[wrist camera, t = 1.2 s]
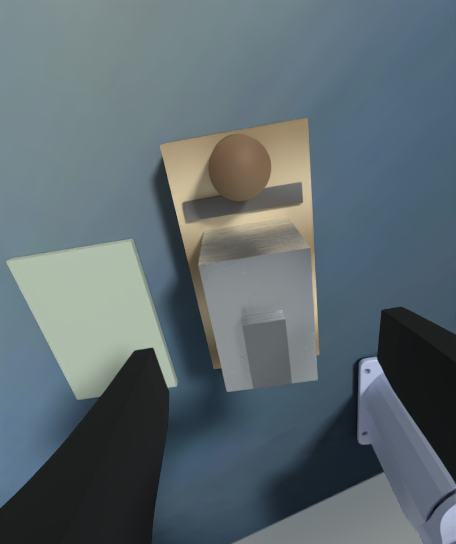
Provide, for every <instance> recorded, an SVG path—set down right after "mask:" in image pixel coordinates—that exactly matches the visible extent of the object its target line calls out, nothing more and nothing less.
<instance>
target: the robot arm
mask: <svg viewBox="0 0 456 544" xmlns="http://www.w3.org/2000/svg"><path fill="white" fill-rule="evenodd" d="M365 369H367V370H365ZM168 414H169V390H168V387H167V385H166V382H165V379H164V376H163V373H162V371H161V368H160V365H159V362H158V359H157V356H156V354H155V351H154V348H153V347H152V348H146V349H140V350H134V352H133V353H132V354H131V356H130V357H129V358H128V360H127V361H126V362H125V364H124V365H123V366H122V368H121V369H120V371H119V372H118V373H117V375H116V376H115V377H114V379H113V380H112V382H111V383H110V384H109V386H108V387H107V388H106V390H105V391H104V392H103V394H102V395H101V396H100V398H99V399H98V400H97V402H96V403H95V404H94V406H93V407H92V408H91V410H90V411H89V412H88V413H87V415H86V416H85V417H84V418H83V420H82V421H81V422H80V423H79V424H78V426H77V427H76V428H75V429H74V431H73V432H72V433H71V434H70V435H69V437H68V438H67V439H66V440H65V441H64V443H63V444H62V445H61V446H60V447H59V448H58V450H57V451H56V452H55V453H54V454H53V455H52V456H51V457H50V458H49V460H48V461H47V462H46V463H45V464H44V465H43V466H42V467H41V468H40V469H39V470H38V471H37V472H36V473H35V474H34V476H33V477H32V478H31V479H30V480H29V481H28V482H27V483H26V484H25V485H24V486H23V487H22V488H21V489H20V490H19V491H18V492H17V493H16V494H15V495H14V496H13V497H12V498H11V499H10V500H9V501H8V502H7V503H6V504H5V505H3V506H2V507H1V508H0V544H151V541H152V528H153V518H154V510H155V503H156V497H157V490H158V484H159V478H160V472H161V466H162V460H163V453H164V447H165V441H166V434H167V428H168ZM357 440H358V442H359V443H360V444H362V445H366V444H371V445H372V447H373V449H374V451H375V453H376V455H377V457H378V460H379V462H380V464H381V466H382V468H383V470H384V472H385V475H386V476H387V479H388V481H389V483H390V485H391V487H392V489H393V492H394V494H395V496H396V498H397V500H398V502H399V504H400V507H401V509H402V511H403V513H404V515H405V516H406V518H407V520H408V521H409V523H410V524H411V525H412V526H413V528H414V529H415V530H416V531H417V532H418V533H419V535H420V537H421V539H422V542H423V544H456V335H455V334H454V333H452V332H450V331H448V330H446V329H444V328H442V327H440V326H438V325H436V324H435V323H433V322H431V321H429V320H427V319H425V318H423V317H421V316H419V315H417V314H415V313H413V312H411V311H409V310H407V309H405V308H403V307H397V308H390V309H384V310H382V312H381V322H380V333H379V343H378V353H377V357H371V358H365V359H362V360H361V361H360V362H359V375H358V421H357Z"/></svg>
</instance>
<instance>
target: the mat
mask: <svg viewBox="0 0 456 544" xmlns="http://www.w3.org/2000/svg"><path fill="white" fill-rule="evenodd" d="M6 262H7V264H8V266H9V268H10V270H11V272H12V274H13V276H14V278H15V280H16V282H17V284H18V286H19V288H20V290H21V292H22V293H23V295H24V297H25V299H26V301H27V303H28V305H29V307H30V309H31V311H32V313H33V315H34V317H35V319H36V321H37V323H38V324H39V326H40V328H41V330H42V332H43V334H44V336H45V338H46V340H47V342H48V344H49V346H50V348H51V350H52V352H53V354H54V355H55V357H56V359H57V361H58V363H59V365H60V367H61V369H62V371H63V373H64V375H65V377H66V379H67V381H68V383H69V385H70V387H71V388H72V390H73V392H74V394H75V396H76V398H77V400H81V399H88V398H95V397H100V396H101V395H102V394H103V392H104V391H105V390H106V388H107V387H108V386H109V384H110V383H111V382H112V380H113V379H114V377H115V376H116V375H117V373H118V372H119V371H120V369H121V368H122V366H123V365H124V364H125V362H126V361H127V360H128V358H129V357H130V356H131V354H132V353H133V352H134V350H140V349H146V348H152V347H153V348H154V351H155V354H156V356H157V359H158V362H159V365H160V368H161V371H162V373H163V376H164V379H165V382H166V385H167V387H168V388H169V387H176V386H177V383H178V381H177V378H176V374H175V371H174V368H173V365H172V362H171V358H170V355H169V352H168V349H167V346H166V342H165V339H164V336H163V333H162V330H161V326H160V323H159V320H158V317H157V314H156V310H155V307H154V304H153V301H152V298H151V294H150V291H149V288H148V285H147V282H146V278H145V275H144V272H143V269H142V266H141V262H140V259H139V256H138V253H137V250H136V246H135V243H134V240H133V239H127V240H121V241H115V242H109V243H103V244H97V245H91V246H84V247H78V248H72V249H66V250H60V251H54V252H48V253H42V254H36V255H30V256H24V257H18V258H12V259H10V260H8V261H6Z"/></svg>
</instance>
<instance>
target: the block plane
mask: <svg viewBox="0 0 456 544" xmlns="http://www.w3.org/2000/svg"><path fill="white" fill-rule="evenodd" d="M160 148H161V152H162V156H163V160H164V164H165V169H166V173H167V177H168V181H169V185H170V189H171V194H172V198H173V202H174V206H175V210H176V214H177V218H178V223H179V227H180V231H181V235H182V239H183V243H184V248H185V252H186V256H187V260H188V264H189V268H190V273H191V277H192V281H193V285H194V289H195V293H196V297H197V302H198V306H199V310H200V314H201V318H202V322H203V327H204V331H205V335H206V339H207V343H208V347H209V352H210V356H211V360H212V364H213V368H214V369H219V368H221V364H220V359H219V355H218V350H217V346H216V341H215V337H214V333H213V328H212V324H211V319H210V315H209V310H208V306H207V302H206V297H205V293H204V288H203V284H202V279H201V275H200V271H199V266H198V264H199V258H200V253H201V247H202V241H203V236H204V231H207V230H213V229H219V228H225V227H231V226H237V225H243V224H249V223H255V222H261V221H268V220H274V219H280V218H286V217H289V218H290V220H291V221H292V223H293V224H294V225H295V227H296V228H297V229H298V231H299V232H300V234H301V235H302V236H303V238H304V239H305V240H306V242H307V243H308V245H309V246H310V247H311V264H312V283H313V301H314V320H315V339H316V355H319V340H318V319H317V298H316V278H315V257H314V236H313V215H312V195H311V174H310V153H309V133H308V118H305V119H296V120H290V121H284V122H279V123H273V124H268V125H262V126H257V127H251V128H246V129H240V130H235V131H229V132H224V133H218V134H213V135H207V136H202V137H196V138H191V139H185V140H180V141H174V142H169V143H165V144H162V145H160Z"/></svg>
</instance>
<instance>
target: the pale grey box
mask: <svg viewBox="0 0 456 544" xmlns="http://www.w3.org/2000/svg"><path fill="white" fill-rule="evenodd" d="M198 266H199V271H200V275H201V279H202V284H203V288H204V293H205V297H206V302H207V306H208V310H209V315H210V319H211V324H212V328H213V333H214V337H215V341H216V346H217V350H218V355H219V359H220V364H221V368H222V372H223V377H224V381H225V386H226V390H227V392H231V391H238V390H246V389H257V388H264V387H272V386H279V385H287V384H292V383H298V382H305V381H313V380H318V376H317V358H316V339H315V320H314V301H313V283H312V264H311V247H310V246H309V245H308V243H307V242H306V240H305V239H304V238H303V236H302V235H301V234H300V232H299V231H298V229H297V228H296V227H295V225H294V224H293V223H292V221H291V220H290V218H289V217H286V218H280V219H274V220H268V221H261V222H255V223H249V224H243V225H237V226H231V227H225V228H219V229H213V230H207V231H204V236H203V241H202V247H201V253H200V258H199V264H198Z"/></svg>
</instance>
